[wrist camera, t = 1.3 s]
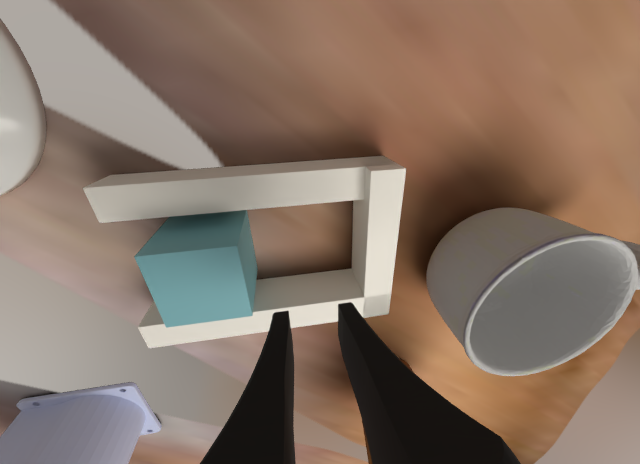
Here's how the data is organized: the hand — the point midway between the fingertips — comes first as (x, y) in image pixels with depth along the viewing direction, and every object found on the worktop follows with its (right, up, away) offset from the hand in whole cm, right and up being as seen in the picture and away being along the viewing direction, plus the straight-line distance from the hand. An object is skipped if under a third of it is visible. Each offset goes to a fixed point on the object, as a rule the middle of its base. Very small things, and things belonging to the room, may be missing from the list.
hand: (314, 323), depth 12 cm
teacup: (+15, +3, +11) cm, 18 cm away
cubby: (-4, +4, +7) cm, 9 cm away
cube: (-7, +3, +7) cm, 10 cm away
